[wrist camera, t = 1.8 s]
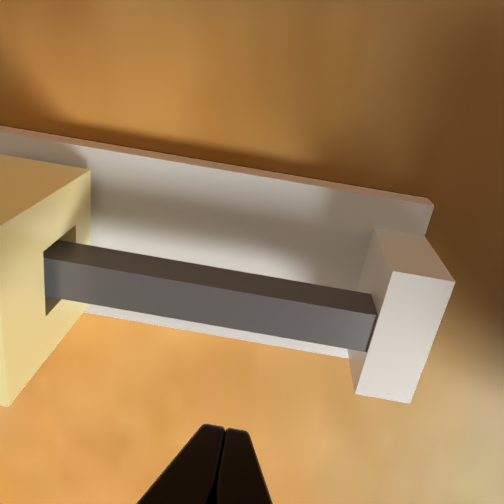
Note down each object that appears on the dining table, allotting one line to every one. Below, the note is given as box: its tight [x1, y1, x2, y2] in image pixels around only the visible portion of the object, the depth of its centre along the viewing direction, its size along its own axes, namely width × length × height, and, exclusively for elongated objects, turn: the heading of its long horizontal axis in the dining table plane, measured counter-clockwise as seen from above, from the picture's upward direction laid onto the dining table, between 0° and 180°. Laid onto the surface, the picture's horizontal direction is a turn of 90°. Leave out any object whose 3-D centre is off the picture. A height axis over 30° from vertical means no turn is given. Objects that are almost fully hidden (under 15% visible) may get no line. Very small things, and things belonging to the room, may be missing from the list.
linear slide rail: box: [0, 125, 455, 403], centre depth 14 cm, size 22×6×5 cm, turn 81°
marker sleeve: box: [0, 154, 91, 407], centre depth 13 cm, size 3×5×5 cm, turn 171°
